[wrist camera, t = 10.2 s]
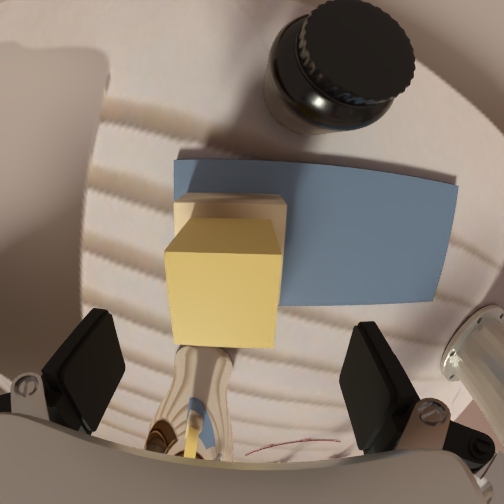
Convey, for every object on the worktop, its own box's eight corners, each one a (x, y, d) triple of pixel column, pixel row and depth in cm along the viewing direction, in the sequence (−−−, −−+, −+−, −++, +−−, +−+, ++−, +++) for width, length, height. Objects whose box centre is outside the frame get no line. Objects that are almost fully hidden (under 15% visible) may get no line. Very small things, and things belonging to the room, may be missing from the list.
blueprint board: (453, 184, 21) (458, 186, 20) (428, 297, 25) (432, 301, 25) (176, 159, 21) (173, 160, 20) (182, 297, 25) (180, 302, 24)
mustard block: (271, 219, 17) (281, 254, 12) (266, 291, 19) (273, 347, 14) (190, 217, 17) (163, 251, 12) (193, 289, 19) (174, 343, 14)
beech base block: (280, 194, 21) (287, 204, 17) (274, 279, 23) (279, 304, 20) (186, 192, 21) (173, 202, 17) (189, 277, 23) (179, 301, 19)
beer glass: (163, 339, 27) (117, 468, 13) (231, 335, 26) (220, 479, 12) (180, 386, 29) (155, 501, 15) (241, 383, 29) (239, 508, 15)
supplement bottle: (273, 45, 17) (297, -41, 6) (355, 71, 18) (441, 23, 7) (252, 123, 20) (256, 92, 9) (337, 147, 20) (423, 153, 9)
